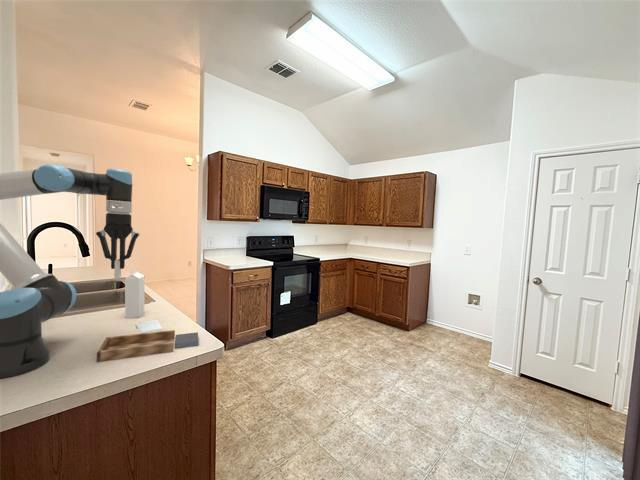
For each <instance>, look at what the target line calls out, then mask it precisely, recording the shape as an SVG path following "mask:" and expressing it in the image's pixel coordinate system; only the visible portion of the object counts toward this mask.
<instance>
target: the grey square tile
mask: <svg viewBox="0 0 640 480" xmlns="http://www.w3.org/2000/svg"><path fill="white" fill-rule="evenodd" d="M199 342H200V341H199V332H198V331H197V332H189V333H188V332H187V333H182V334H175V339H174V349H175V350H177V349H183V348H189V347H198V346H199Z"/></svg>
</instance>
